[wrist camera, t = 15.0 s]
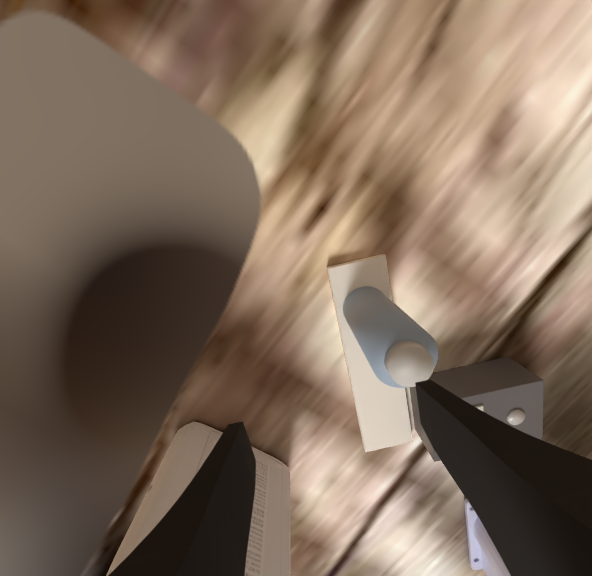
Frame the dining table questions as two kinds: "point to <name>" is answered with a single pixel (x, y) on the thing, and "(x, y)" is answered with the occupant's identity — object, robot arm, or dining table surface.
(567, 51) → the dining table surface
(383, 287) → the batten
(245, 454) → the robot arm
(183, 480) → the light grey rounded block
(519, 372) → the box
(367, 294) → the peg
